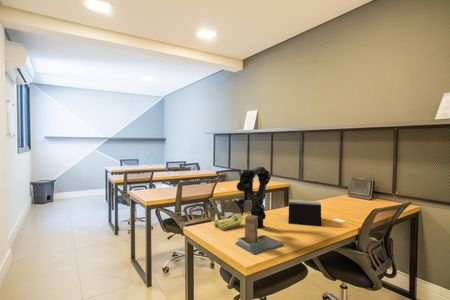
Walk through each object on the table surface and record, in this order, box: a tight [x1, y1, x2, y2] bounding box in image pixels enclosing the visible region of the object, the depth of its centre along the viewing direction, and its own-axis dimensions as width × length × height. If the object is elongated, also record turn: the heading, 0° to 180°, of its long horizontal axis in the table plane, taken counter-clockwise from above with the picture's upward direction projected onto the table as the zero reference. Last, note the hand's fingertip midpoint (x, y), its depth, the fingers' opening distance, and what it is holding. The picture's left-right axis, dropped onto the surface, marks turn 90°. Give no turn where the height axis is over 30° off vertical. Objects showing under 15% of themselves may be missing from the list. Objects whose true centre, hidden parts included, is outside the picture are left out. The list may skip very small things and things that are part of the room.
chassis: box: [235, 234, 284, 255], centre depth 144 cm, size 22×16×3 cm
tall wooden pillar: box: [244, 214, 258, 244], centre depth 143 cm, size 6×6×15 cm
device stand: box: [288, 199, 322, 227], centre depth 190 cm, size 22×22×15 cm
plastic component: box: [213, 213, 244, 231], centre depth 177 cm, size 20×7×10 cm
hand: (248, 213), depth 163 cm, fingers open, 9 cm apart
